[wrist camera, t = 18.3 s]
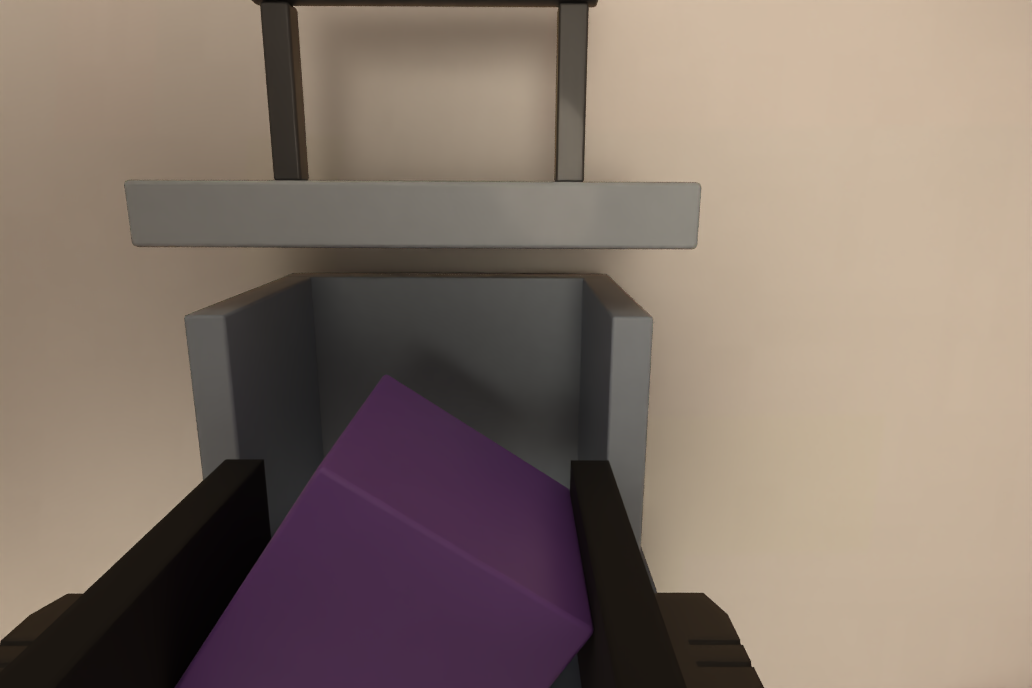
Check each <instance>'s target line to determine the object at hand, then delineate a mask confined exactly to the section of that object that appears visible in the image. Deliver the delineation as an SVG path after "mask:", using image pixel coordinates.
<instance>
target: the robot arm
mask: <svg viewBox="0 0 1032 688" xmlns="http://www.w3.org/2000/svg"><path fill="white" fill-rule="evenodd" d="M570 497H571V503H572V508H573V514H574V520H575V525H576V531H577V537H578V542H579V548H580V553H581V559H582V565H583V570H584V576H585V582H586V587H587V593H588V598H589V604H590V610H591V615H592V621H593V627H594V631H593V634H592V636H591V637H590V638H589V639H588V641H587V642H586V643H585V644H584V646H583V647H582V648H581V649H580V650H579V652H578V653H577V657H578V664H579V672H580V679H581V687H582V688H764V687H763V685H762V683H761V681H760V679H759V677H758V675H757V673H756V671H755V669H754V667H752V666H751V661H750V659H749V657H748V655H747V653H746V651H745V649H744V647H743V645H741V644H740V639H739V637H738V635H737V632H736V630H735V628H734V626H733V624H732V622H731V620H730V618H729V616H728V614H726V613H725V612H724V611H723V610H722V609H721V608H720V607H719V606H717V605H716V604H715V603H714V602H713V601H712V600H711V599H710V598H709V597H707V596H706V595H705V594H704V593H654V591H653V588H652V585H651V582H650V579H649V576H648V573H647V570H646V567H645V564H644V562H643V559H642V556H641V553H640V550H639V547H638V544H637V541H636V538H635V535H634V532H633V529H632V527H631V524H630V521H629V518H628V515H627V512H626V509H625V506H624V503H623V500H622V497H621V494H620V492H619V489H618V486H617V483H616V480H615V477H614V474H613V471H612V468H611V465H610V462H609V460H571V468H570ZM270 540H271V530H270V520H269V509H268V498H267V487H266V477H265V466H264V459H225V460H224V461H223V462H222V463H221V464H220V465H219V466H218V467H217V468H216V469H215V470H214V471H213V472H212V473H211V474H210V475H208V476H207V477H206V478H205V479H204V480H203V481H202V482H201V483H200V484H199V485H198V486H197V487H196V488H195V489H194V490H193V491H192V492H190V493H189V494H188V495H187V496H186V497H185V498H184V499H183V500H182V501H181V502H180V503H179V504H178V505H177V506H176V507H175V508H174V509H172V510H171V511H170V512H169V513H168V514H167V515H166V516H165V517H164V518H163V519H162V520H161V521H160V522H159V523H158V524H157V525H156V526H154V527H153V528H152V529H151V530H150V531H149V532H148V533H147V534H146V535H145V536H144V537H143V538H142V539H141V540H140V541H139V542H138V543H136V544H135V545H134V546H133V547H132V548H131V549H130V550H129V551H128V552H127V553H126V554H125V555H124V556H123V557H122V558H121V559H120V560H119V561H117V562H116V563H115V564H114V565H113V566H112V567H111V568H110V569H109V570H108V571H107V572H106V573H105V574H104V575H103V576H102V577H101V578H99V579H98V580H97V581H96V582H95V583H94V584H93V585H92V586H91V587H90V588H89V589H88V590H87V591H86V592H85V593H84V594H66V595H64V596H63V597H61V598H59V599H57V600H56V601H54V602H52V603H50V604H49V605H47V606H45V607H43V608H42V609H40V610H38V611H36V612H34V613H33V614H31V615H29V616H28V617H27V618H26V619H25V620H24V621H23V622H21V623H20V624H19V625H18V626H17V627H16V628H15V629H14V630H12V631H11V632H10V633H9V634H8V635H7V636H6V637H4V638H3V639H2V640H1V643H0V688H175V686H176V685H177V683H178V682H179V680H180V678H181V677H182V675H183V674H184V672H185V671H186V669H187V668H188V666H189V665H190V663H191V662H192V660H193V658H194V657H195V655H196V654H197V652H198V651H199V649H200V648H201V646H202V645H203V643H204V642H205V640H206V638H207V637H208V635H209V634H210V632H211V631H212V629H213V628H214V626H215V625H216V623H217V622H218V620H219V618H220V617H221V615H222V614H223V612H224V611H225V609H226V608H227V606H228V605H229V603H230V602H231V600H232V599H233V597H234V595H235V594H236V592H237V591H238V589H239V588H240V586H241V585H242V583H243V582H244V580H245V579H246V577H247V575H248V574H249V572H250V571H251V569H252V568H253V566H254V565H255V563H256V562H257V560H258V559H259V557H260V555H261V554H262V552H263V551H264V549H265V548H266V546H267V545H268V543H269V542H270Z"/></svg>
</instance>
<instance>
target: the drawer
mask: <svg viewBox="0 0 1032 688" xmlns="http://www.w3.org/2000/svg"><path fill="white" fill-rule="evenodd" d="M252 1H253V2H254V3H255V4H257V5H260V9H261V22H262V34H263V47H264V59H265V71H266V84H267V96H268V109H269V121H270V134H271V146H272V159H273V171H274V179H275V180H127V181H125V184H124V186H125V194H126V201H127V209H128V216H129V224H130V231H131V239H132V243H133V245H134V246H137V247H282V248H517V249H694V248H696V246H697V241H698V227H699V212H700V198H701V185H700V184H699V183H697V182H583V181H584V155H585V119H586V83H587V47H588V11H589V7H595V6H596V5H597V2H598V0H252ZM293 6H425V7H558V11H557V55H556V112H555V169H554V180H555V182H514V181H308V179H309V175H308V161H307V146H306V131H305V116H304V102H303V87H302V72H301V58H300V43H299V28H298V14H297V10H296V8H295V7H293ZM184 319H185V328H186V336H187V345H188V354H189V362H190V371H191V379H192V388H193V396H194V405H195V413H196V422H197V430H198V439H199V447H200V456H201V465H202V473H203V480H204V479H205V478H206V477H207V476H208V475H210V474H211V473H212V472H213V471H214V470H215V469H216V468H217V467H218V466H219V465H220V464H221V463H222V462H223V461H224V460H225V459H264V466H265V477H266V487H267V498H268V509H269V520H270V530H271V539H272V537H273V535H274V534H275V532H276V531H277V529H278V528H279V526H280V525H281V523H282V522H283V520H284V519H285V517H286V515H287V514H288V512H289V511H290V509H291V508H292V506H293V505H294V503H295V502H296V500H297V499H298V497H299V496H300V494H301V492H302V491H303V489H304V488H305V486H306V485H307V483H308V482H309V480H310V479H311V477H312V476H313V474H314V472H315V471H316V469H317V468H318V466H319V465H320V464H321V462H322V461H323V459H324V458H325V457H326V455H327V454H328V452H329V451H330V450H331V448H332V447H333V445H334V444H335V443H336V441H337V440H338V438H339V437H340V436H341V434H342V433H343V431H344V430H345V429H346V427H347V426H348V424H349V423H350V422H351V420H352V419H353V417H354V416H355V415H356V413H357V412H358V410H359V409H360V408H361V406H362V405H363V403H364V402H365V401H366V399H367V398H368V396H369V395H370V394H371V392H372V391H373V389H374V388H375V387H376V385H377V384H378V382H379V381H380V380H381V378H382V377H383V376H384V375H389V376H390V377H392V378H394V379H395V380H397V381H398V382H400V383H402V384H403V385H405V386H406V387H408V388H410V389H411V390H413V391H414V392H416V393H417V394H419V395H421V396H422V397H424V398H425V399H427V400H429V401H430V402H432V403H433V404H435V405H437V406H438V407H440V408H441V409H443V410H444V411H446V412H448V413H449V414H451V415H452V416H454V417H456V418H457V419H459V420H460V421H462V422H463V423H465V424H467V425H468V426H470V427H471V428H473V429H475V430H476V431H478V432H479V433H481V434H483V435H484V436H486V437H487V438H489V439H490V440H492V441H494V442H495V443H497V444H498V445H500V446H502V447H503V448H505V449H506V450H508V451H510V452H511V453H513V454H514V455H516V456H517V457H519V458H521V459H522V460H524V461H525V462H527V463H529V464H530V465H532V466H533V467H535V468H536V469H538V470H540V471H541V472H543V473H544V474H546V475H548V476H549V477H551V478H552V479H554V480H556V481H557V482H559V483H560V484H562V485H563V486H565V487H567V488H568V489H569V490H570V468H571V460H609V462H610V465H611V468H612V471H613V474H614V477H615V480H616V483H617V486H618V489H619V492H620V494H621V497H622V500H623V503H624V506H625V509H626V512H627V515H628V518H629V521H630V524H631V527H632V529H633V532H634V535H635V538H636V541H637V544H638V547H639V550H640V551H641V533H642V514H643V496H644V478H645V460H646V441H647V423H648V405H649V387H650V368H651V350H652V332H653V318H652V317H651V316H650V315H649V314H648V313H647V312H646V311H645V310H644V309H643V308H642V307H641V306H640V305H639V304H638V303H637V302H636V301H635V300H634V299H633V298H631V297H630V296H629V295H628V294H627V293H626V292H625V291H624V290H623V289H622V288H621V287H620V286H619V285H618V284H617V283H616V282H615V281H614V280H612V279H611V277H609V276H608V275H607V274H403V273H292V274H290V275H287V276H285V277H283V278H280V279H277V280H275V281H272V282H270V283H267V284H265V285H262V286H260V287H257V288H254V289H252V290H249V291H247V292H244V293H242V294H239V295H236V296H234V297H231V298H229V299H226V300H224V301H221V302H219V303H216V304H213V305H211V306H208V307H206V308H203V309H201V310H198V311H195V312H193V313H190V314H188V315H185V318H184ZM550 688H582V687H581V679H580V672H579V664H578V657H577V654H576V655H575V657H574V658H573V659H572V660H571V662H570V663H569V664H568V665H567V667H566V668H565V669H564V670H563V671H562V673H561V674H560V675H559V676H558V678H557V679H556V680H555V681H554V683H553V684H552V685H551V686H550Z"/></svg>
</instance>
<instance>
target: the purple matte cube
mask: <svg viewBox="0 0 1032 688" xmlns="http://www.w3.org/2000/svg"><path fill="white" fill-rule="evenodd" d="M593 631H594V627H593V621H592V615H591V610H590V604H589V598H588V593H587V587H586V582H585V576H584V570H583V565H582V559H581V553H580V548H579V542H578V537H577V531H576V525H575V520H574V514H573V508H572V503H571V497H570V490H569V489H568V488H567V487H565V486H563V485H562V484H560V483H559V482H557V481H556V480H554V479H552V478H551V477H549V476H548V475H546V474H544V473H543V472H541V471H540V470H538V469H536V468H535V467H533V466H532V465H530V464H529V463H527V462H525V461H524V460H522V459H521V458H519V457H517V456H516V455H514V454H513V453H511V452H510V451H508V450H506V449H505V448H503V447H502V446H500V445H498V444H497V443H495V442H494V441H492V440H490V439H489V438H487V437H486V436H484V435H483V434H481V433H479V432H478V431H476V430H475V429H473V428H471V427H470V426H468V425H467V424H465V423H463V422H462V421H460V420H459V419H457V418H456V417H454V416H452V415H451V414H449V413H448V412H446V411H444V410H443V409H441V408H440V407H438V406H437V405H435V404H433V403H432V402H430V401H429V400H427V399H425V398H424V397H422V396H421V395H419V394H417V393H416V392H414V391H413V390H411V389H410V388H408V387H406V386H405V385H403V384H402V383H400V382H398V381H397V380H395V379H394V378H392V377H390V376H389V375H384V376H383V377H382V378H381V380H380V381H379V382H378V384H377V385H376V387H375V388H374V389H373V391H372V392H371V394H370V395H369V396H368V398H367V399H366V401H365V402H364V403H363V405H362V406H361V408H360V409H359V410H358V412H357V413H356V415H355V416H354V417H353V419H352V420H351V422H350V423H349V424H348V426H347V427H346V429H345V430H344V431H343V433H342V434H341V436H340V437H339V438H338V440H337V441H336V443H335V444H334V445H333V447H332V448H331V450H330V451H329V452H328V454H327V455H326V457H325V458H324V459H323V461H322V462H321V464H320V465H319V466H318V468H317V469H316V471H315V472H314V474H313V476H312V477H311V479H310V480H309V482H308V483H307V485H306V486H305V488H304V489H303V491H302V492H301V494H300V496H299V497H298V499H297V500H296V502H295V503H294V505H293V506H292V508H291V509H290V511H289V512H288V514H287V515H286V517H285V519H284V520H283V522H282V523H281V525H280V526H279V528H278V529H277V531H276V532H275V534H274V535H273V537H272V539H271V540H270V542H269V543H268V545H267V546H266V548H265V549H264V551H263V552H262V554H261V555H260V557H259V559H258V560H257V562H256V563H255V565H254V566H253V568H252V569H251V571H250V572H249V574H248V575H247V577H246V579H245V580H244V582H243V583H242V585H241V586H240V588H239V589H238V591H237V592H236V594H235V595H234V597H233V599H232V600H231V602H230V603H229V605H228V606H227V608H226V609H225V611H224V612H223V614H222V615H221V617H220V618H219V620H218V622H217V623H216V625H215V626H214V628H213V629H212V631H211V632H210V634H209V635H208V637H207V638H206V640H205V642H204V643H203V645H202V646H201V648H200V649H199V651H198V652H197V654H196V655H195V657H194V658H193V660H192V662H191V663H190V665H189V666H188V668H187V669H186V671H185V672H184V674H183V675H182V677H181V678H180V680H179V682H178V683H177V685H176V686H175V688H550V686H551V685H552V684H553V683H554V681H555V680H556V679H557V678H558V676H559V675H560V674H561V673H562V671H563V670H564V669H565V668H566V667H567V665H568V664H569V663H570V662H571V660H572V659H573V658H574V657H575V655H576V654H577V653H578V652H579V650H580V649H581V648H582V647H583V646H584V644H585V643H586V642H587V641H588V639H589V638H590V637H591V636H592V634H593Z"/></svg>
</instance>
